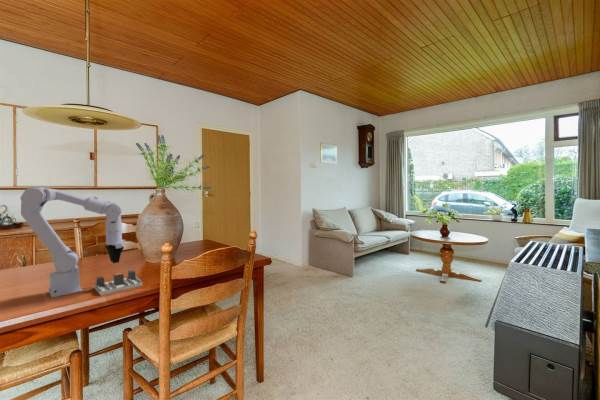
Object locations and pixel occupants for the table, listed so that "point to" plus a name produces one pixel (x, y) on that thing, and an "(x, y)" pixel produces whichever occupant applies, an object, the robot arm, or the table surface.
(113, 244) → the robot arm
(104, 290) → the panel
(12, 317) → the table surface
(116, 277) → the block
